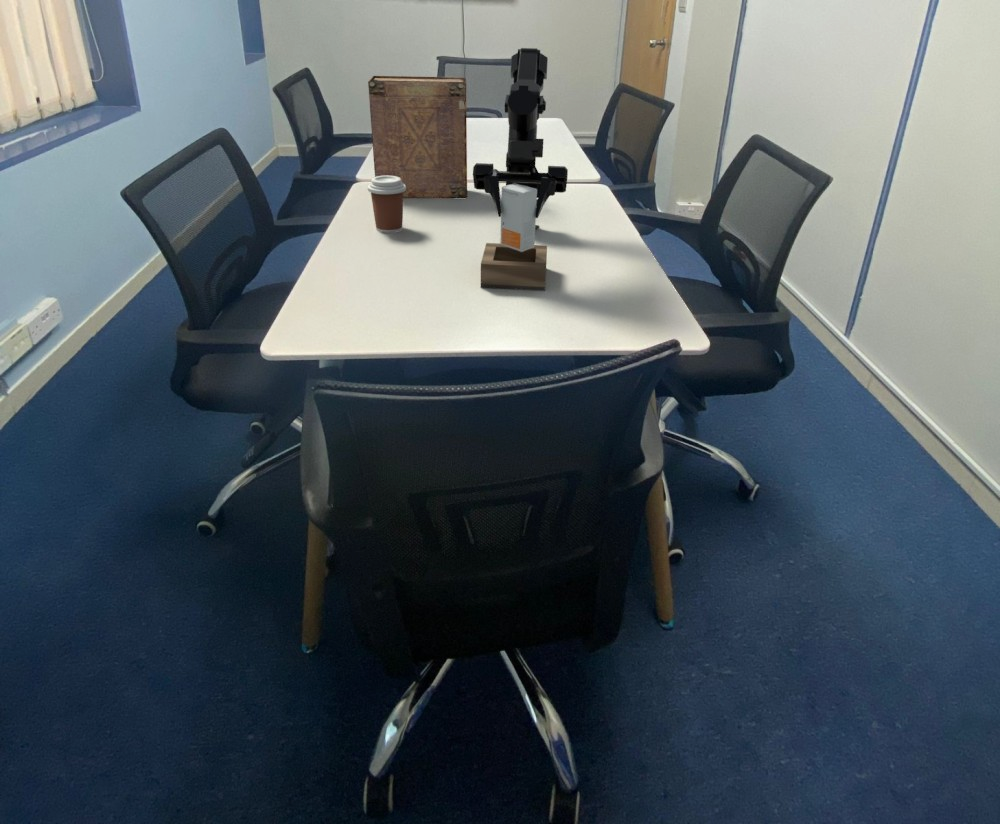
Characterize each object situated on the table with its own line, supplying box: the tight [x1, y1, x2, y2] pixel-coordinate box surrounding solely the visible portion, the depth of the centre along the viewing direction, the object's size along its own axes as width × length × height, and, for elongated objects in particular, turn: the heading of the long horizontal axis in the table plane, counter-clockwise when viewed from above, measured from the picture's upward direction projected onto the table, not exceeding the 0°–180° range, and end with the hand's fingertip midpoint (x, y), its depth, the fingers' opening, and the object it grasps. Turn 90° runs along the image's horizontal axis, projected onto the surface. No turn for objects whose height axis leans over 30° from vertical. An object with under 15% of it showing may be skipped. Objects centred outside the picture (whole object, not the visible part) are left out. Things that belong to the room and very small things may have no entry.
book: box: [367, 75, 468, 199], centre depth 197 cm, size 25×9×30 cm, turn 93°
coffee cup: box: [367, 175, 406, 234], centre depth 174 cm, size 9×9×12 cm
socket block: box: [480, 242, 548, 292], centre depth 149 cm, size 13×13×5 cm
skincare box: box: [499, 183, 538, 252], centre depth 144 cm, size 6×4×12 cm
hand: (518, 216), depth 143 cm, fingers closed on skincare box, 7 cm apart
